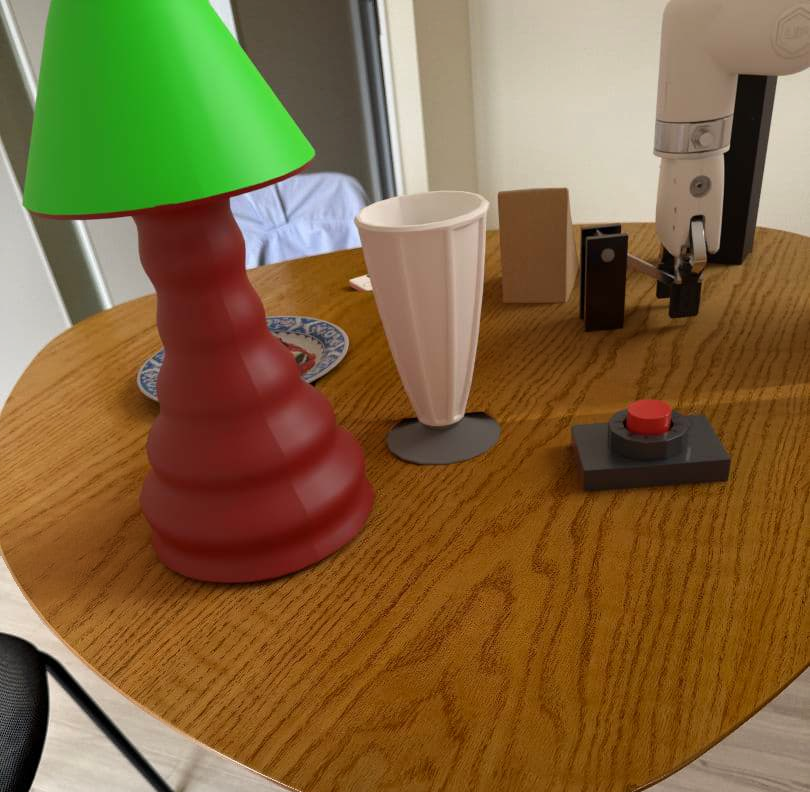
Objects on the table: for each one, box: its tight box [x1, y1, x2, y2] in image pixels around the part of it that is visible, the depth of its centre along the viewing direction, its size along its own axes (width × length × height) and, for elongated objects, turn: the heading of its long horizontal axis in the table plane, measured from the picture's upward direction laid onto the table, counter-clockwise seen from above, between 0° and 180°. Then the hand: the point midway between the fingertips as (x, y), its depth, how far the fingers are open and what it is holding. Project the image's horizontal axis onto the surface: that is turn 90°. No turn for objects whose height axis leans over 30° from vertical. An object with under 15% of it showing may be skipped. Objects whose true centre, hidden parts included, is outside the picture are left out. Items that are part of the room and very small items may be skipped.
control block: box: [570, 407, 732, 493], centre depth 68 cm, size 12×8×4 cm, turn 88°
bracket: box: [578, 222, 629, 333], centre depth 90 cm, size 12×8×12 cm, turn 88°
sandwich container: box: [497, 187, 580, 304], centre depth 102 cm, size 9×15×15 cm, turn 163°
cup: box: [353, 190, 502, 466], centre depth 71 cm, size 12×12×22 cm
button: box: [626, 398, 672, 436], centre depth 67 cm, size 4×4×2 cm
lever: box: [593, 230, 675, 286], centre depth 89 cm, size 12×5×2 cm, turn 88°
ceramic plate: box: [136, 315, 350, 403], centre depth 95 cm, size 26×26×3 cm
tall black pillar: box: [682, 74, 779, 266], centre depth 99 cm, size 8×8×28 cm
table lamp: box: [22, 0, 375, 584], centre depth 56 cm, size 20×20×45 cm
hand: (676, 304), depth 91 cm, fingers open, 5 cm apart
